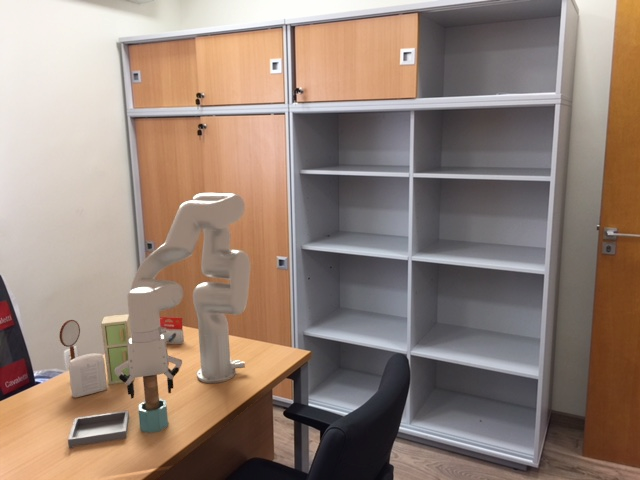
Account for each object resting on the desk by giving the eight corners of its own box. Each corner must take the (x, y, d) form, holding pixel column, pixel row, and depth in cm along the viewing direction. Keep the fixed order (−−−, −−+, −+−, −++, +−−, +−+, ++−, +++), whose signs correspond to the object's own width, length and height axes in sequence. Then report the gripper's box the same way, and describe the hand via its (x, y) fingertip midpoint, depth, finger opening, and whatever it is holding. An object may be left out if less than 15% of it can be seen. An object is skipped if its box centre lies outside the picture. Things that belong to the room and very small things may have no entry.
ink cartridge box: (181, 344, 206) (179, 319, 204) (154, 342, 208) (152, 318, 206) (184, 341, 208) (182, 317, 206) (157, 340, 210) (155, 316, 208)
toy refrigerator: (107, 386, 174) (100, 324, 169) (110, 376, 181) (104, 316, 176) (133, 383, 175) (127, 321, 171) (135, 373, 182) (129, 313, 178)
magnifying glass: (68, 384, 176) (60, 325, 171) (63, 383, 176) (56, 325, 172) (86, 372, 184) (79, 316, 179) (82, 371, 184) (75, 315, 180)
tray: (129, 418, 154) (128, 410, 153) (126, 439, 144) (125, 430, 143) (75, 426, 150) (74, 418, 150) (69, 448, 140) (67, 439, 139)
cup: (168, 417, 154) (166, 396, 153) (168, 431, 147) (166, 409, 146) (141, 421, 152) (139, 400, 151) (139, 436, 145) (137, 413, 144)
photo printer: (105, 385, 175) (101, 348, 172) (108, 390, 171) (104, 353, 168) (70, 394, 169) (66, 356, 166) (73, 399, 166) (68, 361, 163)
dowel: (161, 420, 152) (156, 370, 148) (161, 427, 148) (156, 376, 145) (147, 422, 151) (143, 372, 148) (147, 429, 147) (142, 378, 144)
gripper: (179, 325, 150) (183, 383, 153) (112, 332, 145) (118, 391, 149) (179, 335, 143) (184, 395, 146) (109, 343, 138) (116, 405, 142)
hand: (151, 393), depth 147 cm, fingers open, 9 cm apart
